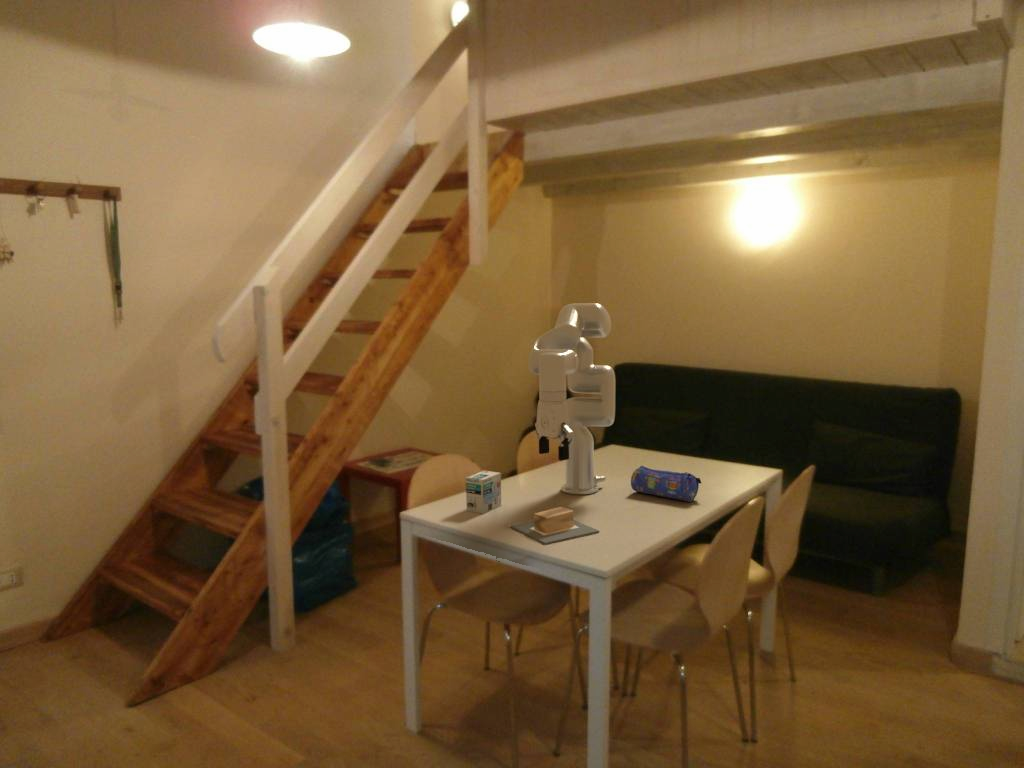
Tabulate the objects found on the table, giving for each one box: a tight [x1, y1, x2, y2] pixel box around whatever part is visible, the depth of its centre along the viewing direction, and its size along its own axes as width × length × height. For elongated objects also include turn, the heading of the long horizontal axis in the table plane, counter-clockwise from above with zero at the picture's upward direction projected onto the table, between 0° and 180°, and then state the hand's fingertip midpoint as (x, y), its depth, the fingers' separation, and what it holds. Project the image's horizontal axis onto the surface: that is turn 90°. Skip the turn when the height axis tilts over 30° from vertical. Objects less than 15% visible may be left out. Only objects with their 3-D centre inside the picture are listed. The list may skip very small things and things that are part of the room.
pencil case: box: [630, 465, 702, 503], centre depth 241 cm, size 22×9×10 cm, turn 49°
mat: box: [510, 519, 600, 545], centre depth 210 cm, size 18×18×1 cm
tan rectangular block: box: [533, 506, 575, 534], centre depth 210 cm, size 6×10×4 cm, turn 128°
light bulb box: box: [465, 470, 502, 514], centre depth 232 cm, size 11×7×11 cm, turn 149°
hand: (553, 456), depth 210 cm, fingers open, 9 cm apart
